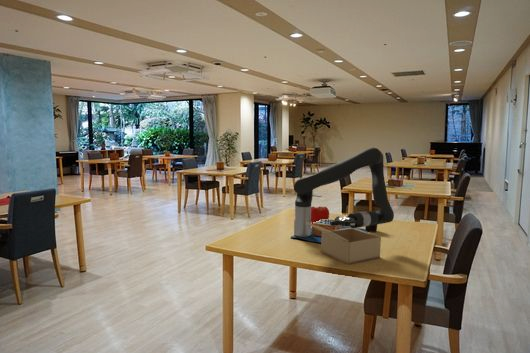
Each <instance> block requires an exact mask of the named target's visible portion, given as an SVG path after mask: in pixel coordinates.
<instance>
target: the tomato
mask: <svg viewBox="0 0 530 353" xmlns="http://www.w3.org/2000/svg"><path fill="white" fill-rule="evenodd" d="M329 218H330V210H329V209H328V207H327V206H317V207H315V206H311V224H313V222H316V221H319V220H320V219H328V220H329Z"/></svg>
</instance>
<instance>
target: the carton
mask: <svg viewBox="0 0 530 353" xmlns="http://www.w3.org/2000/svg"><path fill="white" fill-rule="evenodd" d="M331 231H332V232H334V233H336V234H338V235H339V236H341V237H343V238H345V239H347V240H349V241H348V242H347V241H345V240H342V239H340V238H337V237H334V236H332V235H329V234H326V233H324V232H322V231H321V242H320V243H321V244H320V246H321V247H320V253H322V254H324V255H327V256H329V257H330V258H333V259H334V260H337V261H341V262H342V263H345V264H346V265H350V264H351V265H352V264H356V263H360V262H366V261H370V260H374V259H375V260H376V259H379V258H381V246H382V244H381V241H382V236H379V235H376V234H374V233H371V232H368V231H363V230H361V229H359V228H351V227H346V228H340V229H334V230H331Z"/></svg>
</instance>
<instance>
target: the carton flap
mask: <svg viewBox="0 0 530 353" xmlns="http://www.w3.org/2000/svg"><path fill="white" fill-rule="evenodd" d="M306 223H307V224H308V225H310V226H311V228H312V227H313V228H314V229H316V230H318V231H320V232H321V233H322V232H324V233H326V234H329V235H332V236H334V237H337V238H340V239H342V240H345V241H347V242H348V241H349V240H347V239H345V238H343V237H341V236H339V235H338V234H336V233H334V232H332V231H333V230H330V229H327V228H324V227H322V226H320V225H315V224H313V223H312V222H311V223H308V222H306Z"/></svg>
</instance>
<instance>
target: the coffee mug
mask: <svg viewBox="0 0 530 353" xmlns="http://www.w3.org/2000/svg"><path fill="white" fill-rule="evenodd" d="M378 225H379V224H374V225H369V226H365V232H367V233H376V232H377V230H378Z"/></svg>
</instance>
